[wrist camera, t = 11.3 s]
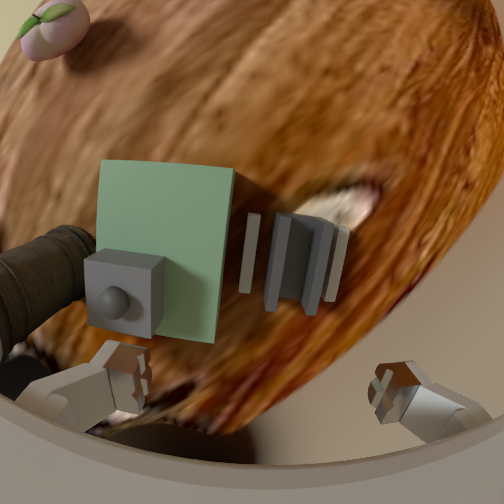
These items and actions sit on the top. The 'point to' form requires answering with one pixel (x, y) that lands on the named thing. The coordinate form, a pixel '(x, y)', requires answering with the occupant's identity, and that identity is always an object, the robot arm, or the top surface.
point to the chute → (297, 260)
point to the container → (40, 281)
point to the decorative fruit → (54, 29)
